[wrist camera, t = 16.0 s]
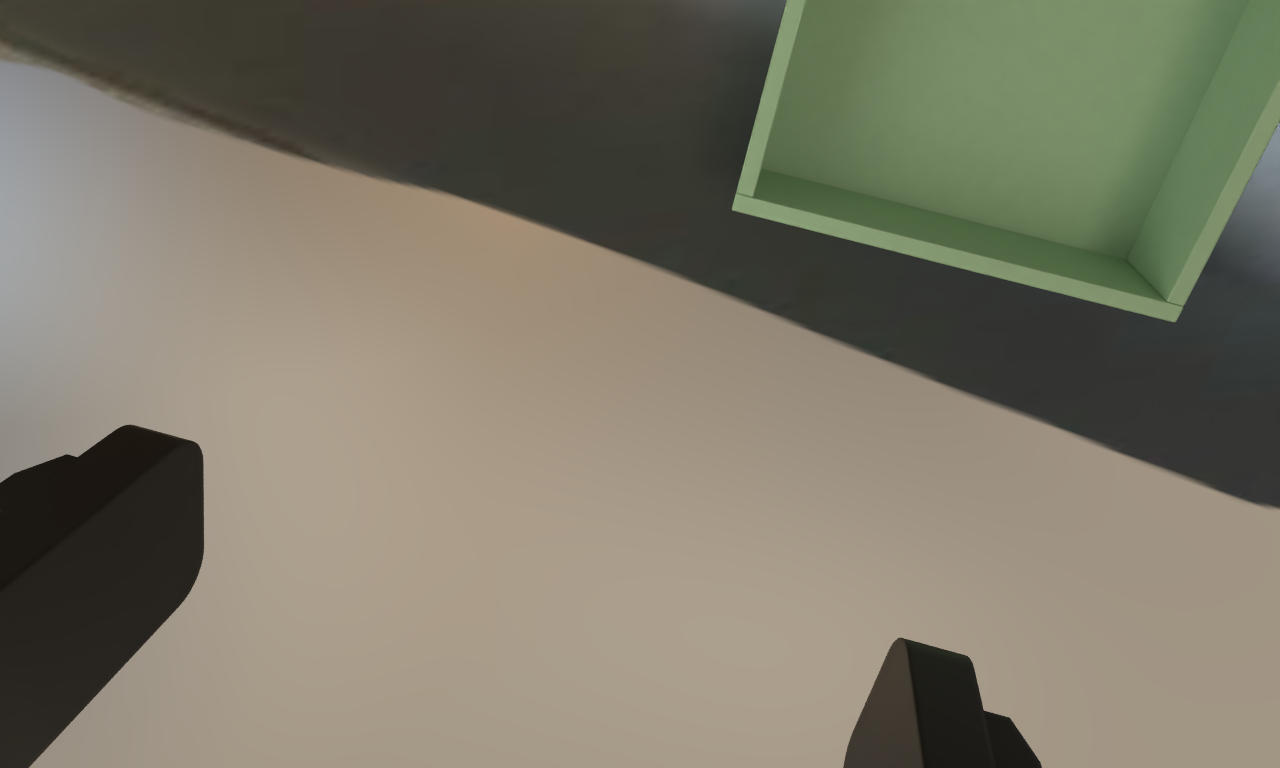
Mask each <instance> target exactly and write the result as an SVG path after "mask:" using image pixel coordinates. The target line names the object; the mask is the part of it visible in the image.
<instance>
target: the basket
mask: <svg viewBox="0 0 1280 768" xmlns="http://www.w3.org/2000/svg"><path fill="white" fill-rule="evenodd" d="M1279 121H1280V0H787V1H786V5H785V9H784V13H783V17H782V20H781V24H780V28H779V32H778V36H777V39H776V43H775V47H774V51H773V55H772V58H771V62H770V66H769V70H768V74H767V77H766V81H765V85H764V89H763V93H762V96H761V100H760V104H759V108H758V112H757V115H756V119H755V123H754V127H753V131H752V134H751V138H750V142H749V146H748V150H747V153H746V157H745V161H744V165H743V169H742V172H741V176H740V180H739V184H738V188H737V192H736V195H735V199H734V203H733V207H732V210H733V211H737V212H741V213H745V214H749V215H753V216H757V217H761V218H765V219H769V220H773V221H777V222H781V223H785V224H788V225H792V226H796V227H800V228H804V229H808V230H812V231H816V232H820V233H824V234H828V235H832V236H836V237H840V238H844V239H848V240H852V241H856V242H859V243H863V244H867V245H871V246H875V247H879V248H883V249H887V250H891V251H895V252H899V253H903V254H907V255H911V256H915V257H919V258H923V259H926V260H930V261H934V262H938V263H942V264H946V265H950V266H954V267H958V268H962V269H966V270H970V271H974V272H978V273H982V274H986V275H990V276H994V277H997V278H1001V279H1005V280H1009V281H1013V282H1017V283H1021V284H1025V285H1029V286H1033V287H1037V288H1041V289H1045V290H1049V291H1053V292H1057V293H1061V294H1065V295H1068V296H1072V297H1076V298H1080V299H1084V300H1088V301H1092V302H1096V303H1100V304H1104V305H1108V306H1112V307H1116V308H1120V309H1124V310H1128V311H1132V312H1135V313H1139V314H1143V315H1147V316H1151V317H1155V318H1159V319H1163V320H1167V321H1171V322H1176V321H1177V319H1178V317H1179V315H1180V313H1181V311H1182V309H1183V306H1184V305H1185V303H1186V301H1187V299H1188V297H1189V295H1190V293H1191V291H1192V289H1193V287H1194V285H1195V283H1196V282H1197V280H1198V278H1199V276H1200V274H1201V272H1202V270H1203V268H1204V266H1205V264H1206V262H1207V260H1208V258H1209V256H1210V255H1211V253H1212V251H1213V249H1214V247H1215V245H1216V243H1217V241H1218V239H1219V237H1220V235H1221V233H1222V231H1223V229H1224V228H1225V226H1226V224H1227V222H1228V220H1229V218H1230V216H1231V214H1232V212H1233V210H1234V208H1235V206H1236V204H1237V202H1238V201H1239V199H1240V197H1241V195H1242V193H1243V191H1244V189H1245V187H1246V185H1247V183H1248V181H1249V179H1250V177H1251V175H1252V174H1253V172H1254V170H1255V168H1256V166H1257V164H1258V162H1259V160H1260V158H1261V156H1262V154H1263V152H1264V150H1265V148H1266V147H1267V145H1268V143H1269V141H1270V139H1271V137H1272V135H1273V133H1274V131H1275V129H1276V127H1277V125H1278V123H1279Z"/></svg>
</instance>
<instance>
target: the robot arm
mask: <svg viewBox="0 0 1280 768" xmlns="http://www.w3.org/2000/svg"><path fill="white" fill-rule="evenodd" d="M203 553H204V491H203V455H202V451H201V449H200V447H199V445H198V444H197V443H195V442H193V441H190V440H186V439H182V438H178V437H175V436H172V435H168V434H164V433H161V432H157V431H153V430H149V429H146V428H142V427H138V426H135V425H125V426H122V427H120V428H118V429H117V430H115V431H114V432H112V433H111V434H109V435H108V436H107V437H105V438H104V439H102V440H101V441H100V442H98V443H97V444H95V445H94V446H93V447H91V448H90V449H89V450H87V451H86V452H84V453H83V454H82V455H80V456H79V457H74V456H71V455H64V456H61V457H58V458H55V459H53V460H50V461H47V462H45V463H42V464H39V465H36V466H33V467H31V468H28V469H25V470H22V471H20V472H17V473H14V474H13V475H11V476H10V477H8V478H7V479H5V480H4V481H3V482H1V483H0V768H29V767H30V766H31V765H32V764H33V762H34V761H35V760H36V759H37V758H38V757H39V756H40V755H41V754H42V753H43V752H44V751H45V750H46V748H47V747H48V746H49V745H50V744H51V743H52V742H53V741H54V740H55V739H56V738H57V737H58V736H59V734H60V733H61V732H62V731H63V730H64V729H65V728H66V727H67V726H68V725H69V724H70V723H71V722H72V721H73V720H74V718H75V717H76V716H77V715H78V714H79V713H80V712H81V711H82V710H83V709H84V708H85V707H86V706H87V704H88V703H89V702H90V701H91V700H92V699H93V698H94V697H95V696H96V695H97V694H98V693H99V692H100V691H101V689H102V688H103V687H104V686H105V685H106V684H107V683H108V682H109V681H110V680H111V679H112V678H113V677H114V675H115V674H116V673H117V672H118V671H119V670H120V669H121V668H122V667H123V666H124V665H125V663H127V662H128V661H129V659H130V658H131V657H132V656H133V655H134V654H135V653H136V652H137V651H138V650H139V649H140V648H141V646H143V644H144V643H145V642H146V641H147V640H148V639H149V638H150V637H151V636H152V635H153V634H154V632H156V630H157V629H158V628H159V627H160V626H161V625H162V624H163V623H164V622H165V621H166V620H167V619H168V618H169V616H170V615H171V614H172V613H173V612H174V611H175V610H176V609H177V608H178V607H179V606H180V605H181V603H182V602H183V601H184V600H185V598H186V597H187V595H188V594H189V592H190V591H191V589H192V587H193V585H194V583H195V581H196V578H197V576H198V573H199V570H200V567H201V564H202V559H203ZM843 768H1042V767H1041V763H1040V761H1039V760H1038V758H1037V757H1036V755H1035V754H1034V752H1033V751H1032V750H1031V748H1030V747H1029V745H1028V744H1027V742H1026V741H1025V739H1024V738H1023V736H1022V735H1021V734H1020V732H1019V731H1018V729H1017V728H1016V726H1015V725H1014V723H1013V722H1012V720H1011V719H1010V718H1009V717H1005V716H1001V715H997V714H994V713H990V712H986V711H984V710H983V706H982V701H981V697H980V692H979V688H978V684H977V679H976V675H975V670H974V667H973V663H972V661H971V660H970V658H969V657H968V656H966V655H962V654H958V653H955V652H951V651H948V650H944V649H940V648H937V647H933V646H929V645H926V644H922V643H918V642H914V641H911V640H907V639H904V638H898V639H897V640H896V641H895V642H894V643H893V644H892V646H891V648H890V649H889V652H888V654H887V656H886V658H885V660H884V663H883V665H882V667H881V670H880V672H879V674H878V676H877V678H876V681H875V683H874V685H873V688H872V690H871V692H870V694H869V697H868V699H867V701H866V703H865V706H864V708H863V710H862V712H861V715H860V717H859V719H858V722H857V724H856V726H855V728H854V730H853V733H852V736H851V739H850V741H849V745H848V748H847V752H846V756H845V761H844V767H843Z"/></svg>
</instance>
